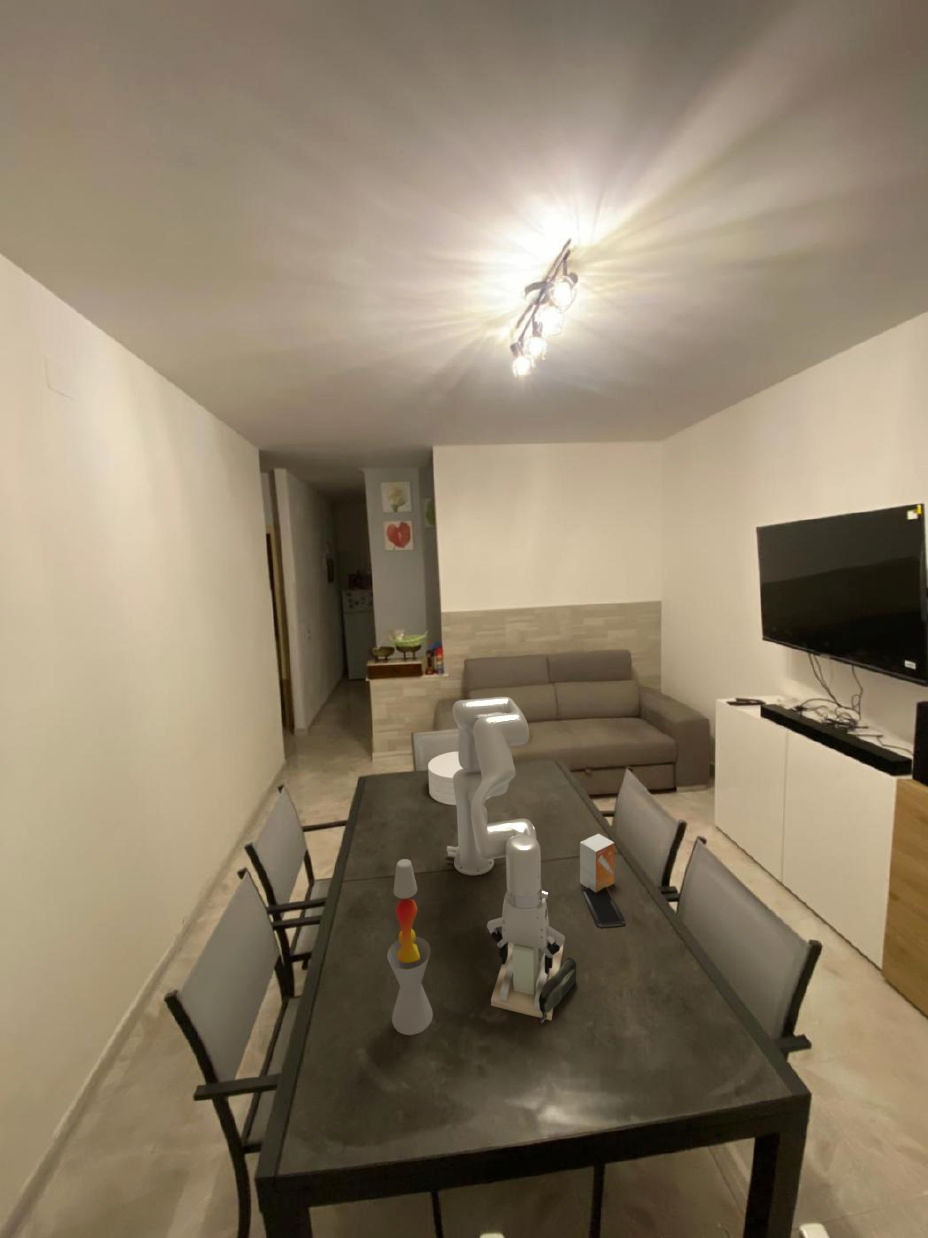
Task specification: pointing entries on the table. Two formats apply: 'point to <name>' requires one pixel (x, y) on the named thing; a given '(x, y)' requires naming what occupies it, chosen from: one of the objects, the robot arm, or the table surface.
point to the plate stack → (443, 777)
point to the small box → (597, 862)
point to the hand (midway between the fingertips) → (526, 964)
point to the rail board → (518, 1000)
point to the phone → (603, 908)
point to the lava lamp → (409, 959)
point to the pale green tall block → (525, 968)
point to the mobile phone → (557, 987)
